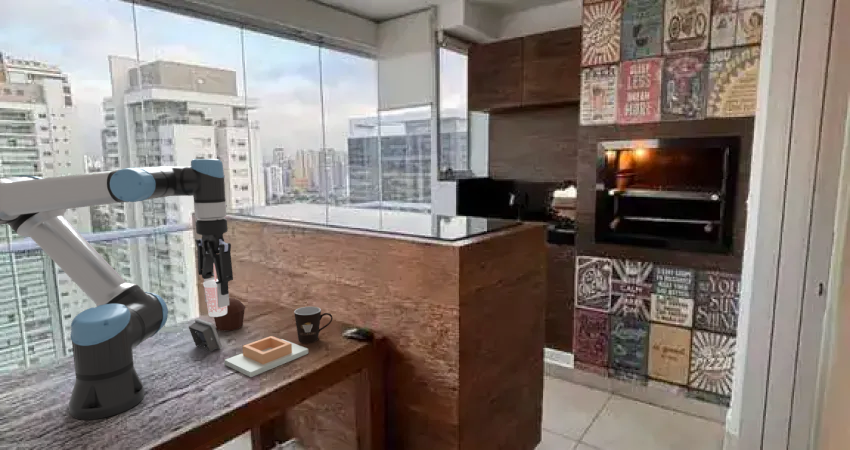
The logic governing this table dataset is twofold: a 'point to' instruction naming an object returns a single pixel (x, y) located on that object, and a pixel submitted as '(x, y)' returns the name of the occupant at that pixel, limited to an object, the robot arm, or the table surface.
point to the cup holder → (265, 355)
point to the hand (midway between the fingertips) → (217, 303)
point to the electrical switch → (205, 335)
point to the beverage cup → (213, 297)
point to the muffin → (231, 316)
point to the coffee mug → (309, 323)
